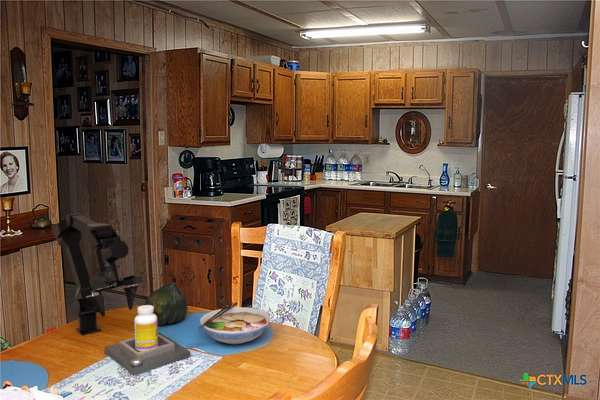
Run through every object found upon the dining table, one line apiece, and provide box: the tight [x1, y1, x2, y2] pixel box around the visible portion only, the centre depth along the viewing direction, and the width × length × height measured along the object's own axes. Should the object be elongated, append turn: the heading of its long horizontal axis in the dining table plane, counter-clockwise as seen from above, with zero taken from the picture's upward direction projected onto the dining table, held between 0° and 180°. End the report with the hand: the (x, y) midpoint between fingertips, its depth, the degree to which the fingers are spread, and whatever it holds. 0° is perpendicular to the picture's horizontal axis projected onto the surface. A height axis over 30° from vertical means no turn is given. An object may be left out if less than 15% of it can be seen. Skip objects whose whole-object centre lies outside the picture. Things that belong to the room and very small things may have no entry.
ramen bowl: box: [197, 301, 272, 346], centre depth 172 cm, size 25×23×8 cm
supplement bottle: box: [134, 304, 159, 352], centre depth 160 cm, size 7×7×13 cm
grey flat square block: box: [104, 331, 191, 376], centre depth 161 cm, size 20×18×4 cm
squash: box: [144, 282, 189, 327], centre depth 188 cm, size 14×15×15 cm
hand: (117, 313), depth 165 cm, fingers open, 9 cm apart
